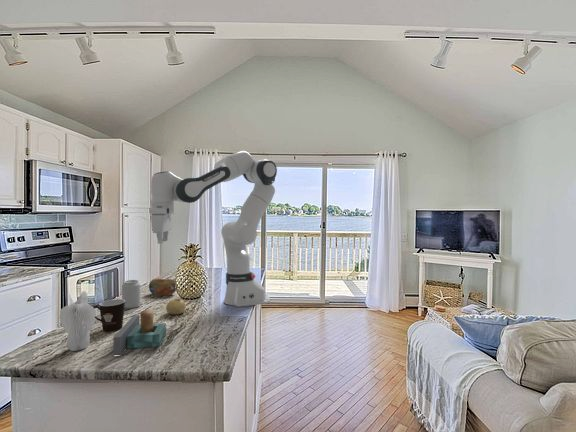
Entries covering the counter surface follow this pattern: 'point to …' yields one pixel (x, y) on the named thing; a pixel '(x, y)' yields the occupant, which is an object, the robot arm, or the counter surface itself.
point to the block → (146, 337)
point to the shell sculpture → (78, 322)
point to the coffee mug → (111, 314)
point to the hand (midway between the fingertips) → (162, 242)
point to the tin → (162, 287)
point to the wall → (124, 335)
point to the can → (131, 293)
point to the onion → (176, 306)
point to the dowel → (147, 322)
